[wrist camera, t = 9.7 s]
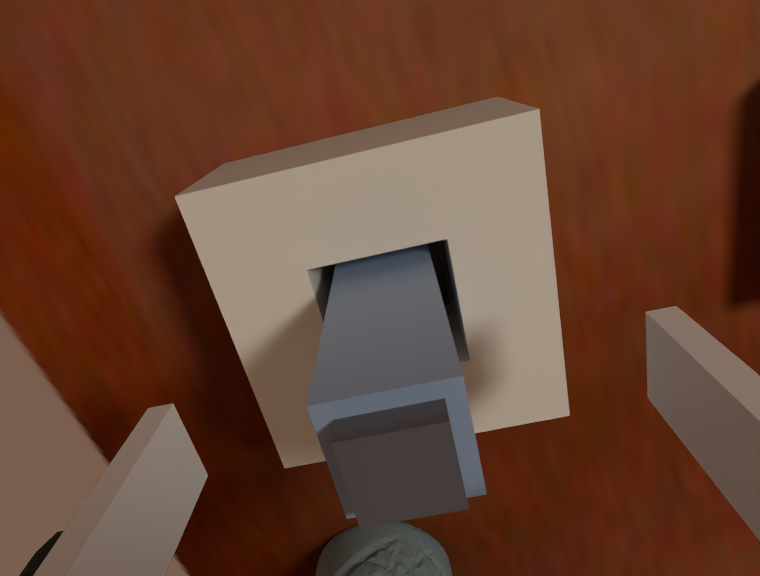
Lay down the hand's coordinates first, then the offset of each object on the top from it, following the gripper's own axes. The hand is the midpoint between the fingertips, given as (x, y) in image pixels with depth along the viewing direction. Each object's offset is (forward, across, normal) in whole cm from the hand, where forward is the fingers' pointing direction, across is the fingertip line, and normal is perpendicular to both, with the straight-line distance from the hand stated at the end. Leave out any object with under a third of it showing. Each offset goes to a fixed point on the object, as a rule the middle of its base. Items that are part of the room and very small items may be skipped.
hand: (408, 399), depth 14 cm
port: (+11, 0, 0) cm, 11 cm away
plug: (+10, 0, 0) cm, 10 cm away
